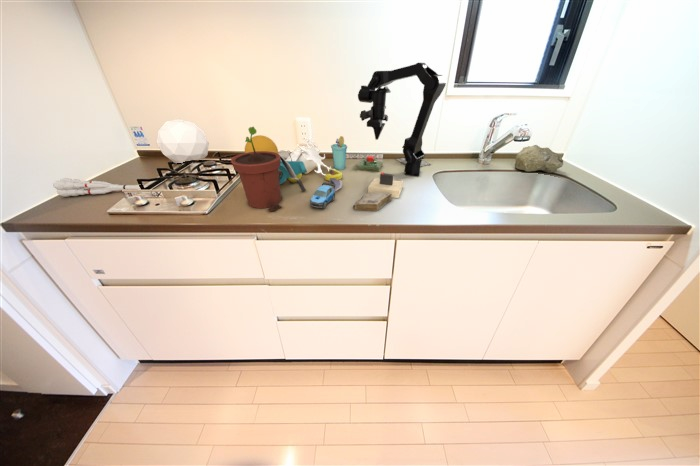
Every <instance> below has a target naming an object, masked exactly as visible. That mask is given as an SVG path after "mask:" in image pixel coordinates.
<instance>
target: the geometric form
mask: <svg viewBox="0 0 700 466" xmlns="http://www.w3.org/2000/svg"><path fill="white" fill-rule="evenodd" d="M156 145H157V147H158V148H159V149H160V151H161V153H162V155H164V156H165V157H166V158H168V159H169V160H170V161H171V162H173V164H177V163H183V162H185V161H190V160H196V159H203V160H204V159H205V158H206V157H207V156H209V155H208V154H209V147H210V146H209V145H210V143H209V141H208V138H207V135H206V133H205V131H203V130H202V129H201V128H200V127H198V126H197V125H196V123H194V122H193V121H188V120H184V119H181V118H177V119H172V120H168V121H165V122H164V123H163V124H162V126H161V127H160V128H159V129H158V131H157V136H156Z"/></svg>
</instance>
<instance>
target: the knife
mask: <svg viewBox="0 0 700 466" xmlns="http://www.w3.org/2000/svg"><path fill="white" fill-rule="evenodd" d="M342 178H343V172H341V170H340V171H339V170H338V169H335V168H334V167H333V168H332V167H331V169H329V172H328V173H326V174H325V175H324V179H325V180H326V181H328V183H331V184H336V186H335V188H333V189H334V192H335V193H336V192H337V191H338V190H340V189H342V187H343V183H344V182H343V181H342V180H341V179H342Z"/></svg>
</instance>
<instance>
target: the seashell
mask: <svg viewBox="0 0 700 466" xmlns="http://www.w3.org/2000/svg"><path fill="white" fill-rule="evenodd" d="M291 153H292V152H291V151H290V150H284V149H281V150H279V151H278V154H279V155H280V156H281V157H282V158H284V159H285V160H286V159H287V158H288V157H289V154H291ZM280 160H281V159H280ZM278 172H279V173H280V172H281V173H282V171H281V170H279V169H278Z"/></svg>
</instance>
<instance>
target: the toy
mask: <svg viewBox="0 0 700 466" xmlns="http://www.w3.org/2000/svg"><path fill="white" fill-rule="evenodd" d="M249 140H250V138H249ZM252 142H253V145H254V148H255V151H269V152H275V153H279V149H278V146H277V144H276V143H275V141H274V140H272V139H271V138H270V137H269V136H265V135H261V134H259V135H253V136H252ZM248 152H254V150H253V147H252V143H250V142H245V145H244V153H248Z"/></svg>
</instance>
